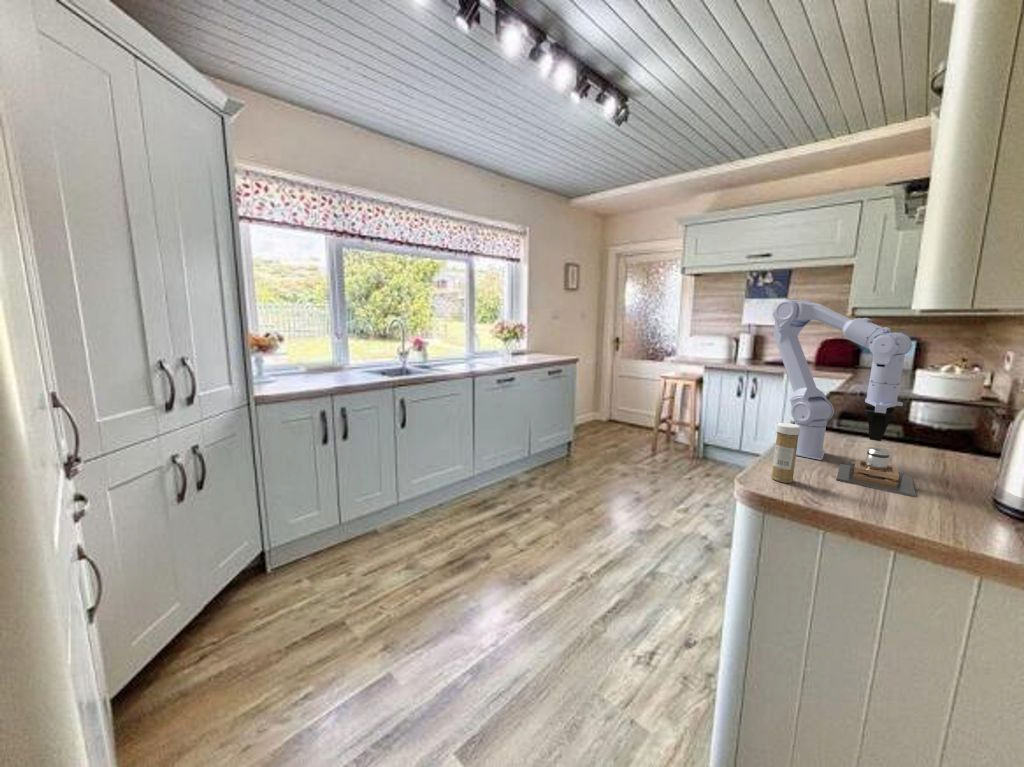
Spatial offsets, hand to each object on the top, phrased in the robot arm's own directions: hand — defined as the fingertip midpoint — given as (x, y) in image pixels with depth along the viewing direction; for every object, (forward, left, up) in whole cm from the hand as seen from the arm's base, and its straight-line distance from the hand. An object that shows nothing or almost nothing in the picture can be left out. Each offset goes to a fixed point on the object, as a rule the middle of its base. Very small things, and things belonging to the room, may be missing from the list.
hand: (875, 437), depth 109 cm
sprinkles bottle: (+21, -16, -10) cm, 28 cm away
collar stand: (+5, +1, -9) cm, 11 cm away
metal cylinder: (+5, +1, -9) cm, 10 cm away
